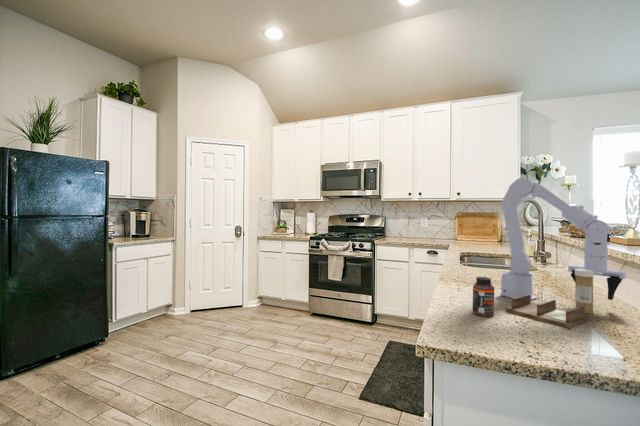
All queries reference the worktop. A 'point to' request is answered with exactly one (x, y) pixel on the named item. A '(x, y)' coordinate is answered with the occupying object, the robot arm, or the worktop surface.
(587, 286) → the sprinkles bottle
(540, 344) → the worktop surface
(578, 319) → the slot rack
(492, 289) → the supplement bottle
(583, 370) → the worktop surface
